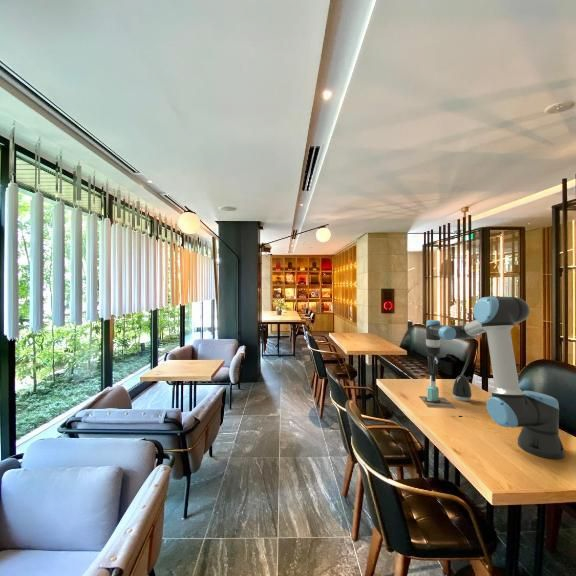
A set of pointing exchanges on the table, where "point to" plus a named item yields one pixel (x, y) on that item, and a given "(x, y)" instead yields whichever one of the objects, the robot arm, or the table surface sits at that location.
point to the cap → (432, 393)
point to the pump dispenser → (462, 388)
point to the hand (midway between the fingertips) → (432, 386)
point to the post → (432, 401)
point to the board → (442, 404)
